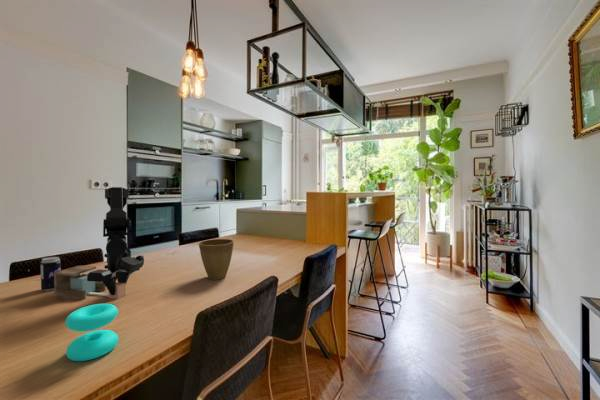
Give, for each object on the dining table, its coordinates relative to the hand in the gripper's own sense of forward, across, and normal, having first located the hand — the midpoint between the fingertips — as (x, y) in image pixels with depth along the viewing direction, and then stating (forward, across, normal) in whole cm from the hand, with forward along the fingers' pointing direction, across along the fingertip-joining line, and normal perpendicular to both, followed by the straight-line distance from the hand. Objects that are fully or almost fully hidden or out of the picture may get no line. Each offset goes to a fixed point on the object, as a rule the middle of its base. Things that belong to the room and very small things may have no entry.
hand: (117, 293), depth 98 cm
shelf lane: (+1, 0, +16) cm, 16 cm away
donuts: (+2, -30, -21) cm, 37 cm away
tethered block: (+1, 0, +8) cm, 8 cm away
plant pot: (+2, +27, -25) cm, 37 cm away
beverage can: (+2, +2, +31) cm, 31 cm away
